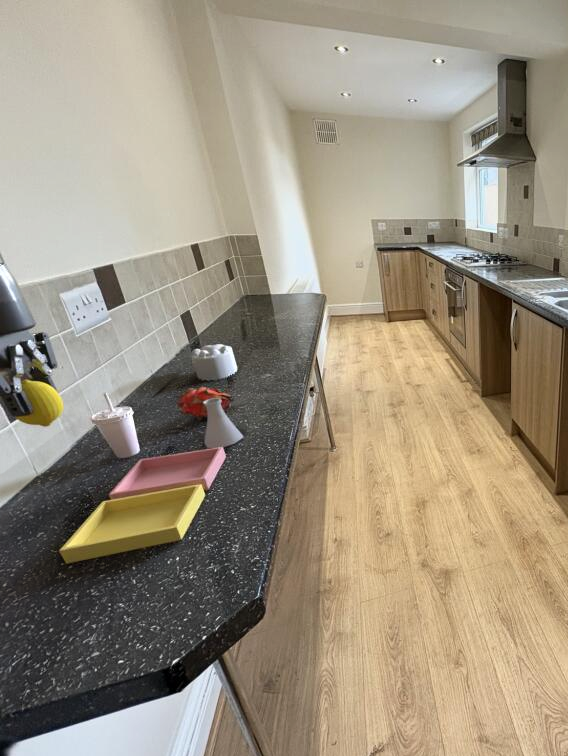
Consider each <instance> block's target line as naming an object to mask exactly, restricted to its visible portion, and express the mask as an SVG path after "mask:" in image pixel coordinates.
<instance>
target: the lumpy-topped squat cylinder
mask: <svg viewBox="0 0 568 756" xmlns="http://www.w3.org/2000/svg"><path fill="white" fill-rule="evenodd" d="M190 357H191V361H192V364H193V367H194V370H195V372H196V373H195V374H196V376H197V379H198V378H199V379H198V380H200V379H201V380H200V381H204V380H207V381H206V382H211V381H210V380H214V381H218V379H219V380H223V379H226V378H229V377H231V376H232V374H233V375H235V374H236V373H237V371H238V365H237V362H236V358H235V355H234V352H233V348H232V346H230V345H225V344H222V343H219V344H218V343H217V344H209V345H203V346H202V347H201V348H194V349H193V350H192V351H191V356H190ZM235 372H236V373H235ZM230 375H231V376H230ZM228 376H229V377H228ZM225 377H226V378H225ZM222 378H223V379H222Z"/></svg>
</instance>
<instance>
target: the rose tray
mask: <svg viewBox="0 0 568 756" xmlns="http://www.w3.org/2000/svg"><path fill="white" fill-rule="evenodd" d="M226 458H227V456H226V452H225V449H224V447H218V448H206V449H205V448H204V449H198V450H193V451H187V452H179V453H173V454H166V455H161V456H154V457H145V458H142V459H138V461H137V462H136V463H135V464H134V465H133V467H132V468H130V469H129V470H128V472H127V473H126V474H125V476H124V477H123V478H122V479H121V480H120V481H119V482H118V483H117V484H116V486H114V488H113V489H112V490H111V491H110V492H109V493H108V497H109V500H113V499H119V498H124V497H130V496H136V495H142V494H147V493H153V492H159V491H164V490H170V489H176V488H181V487H187V486H193V485H199V484H202V487H203V490H204V491H207V490H209V489H210V488H211V486H212V484H213V482H214V481H215V478H216V477H217V475H218V472H219V471H220V468H221V467H222V465H223V464H224V462H225V460H226Z"/></svg>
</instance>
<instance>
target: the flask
mask: <svg viewBox="0 0 568 756" xmlns="http://www.w3.org/2000/svg"><path fill="white" fill-rule="evenodd" d="M221 402H222V401H221V399H220V398H212V399H208V400H206V401H204V402H203V404H204V405H205V406H206V408H207V414H208V417H207V421H206V430H205V435H204V436H205V437H204V445H205V446H206V447H207V448H206V449H211V448H218V447H223V448H225V447H229V446H231V445H235V444H236V443H238V442H239V441H240V440H242V439H244V435H243V434H242V433H241V432H240V430H239V429H238V428H237V427H236V425H235V424H234V423H233V422H232V421H231V419H230V418H229V417H228V416H227V414H226V412H225V410H223V409H222V406H221Z"/></svg>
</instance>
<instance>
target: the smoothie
mask: <svg viewBox="0 0 568 756" xmlns="http://www.w3.org/2000/svg"><path fill="white" fill-rule="evenodd" d="M102 394H103V397H104V399H105V401H106V404H107V406H108V408H107V409H103V410H100V411H98V412H95V413H94V414H92V415H91V417H90V421H91V423H92V424H93V425H95V426H96V427H97V430H99V432H100V434H101V436H103V438H104V440H105V441H106V443H107V444H108V446H110V449H111V450H112V452H113V453H114V455H115V456H116V458H117V459H127V458H131V457H133V456H135V455H138V453H140V451H141V449H140V445H139V440H138V435H137V430H136V426H135V422H134V417H133V415H134V411H133V408H132V407H130V406H116V407H113V404H112V402H111V399H110V397H109V394H108V392H107V391H104V392H102Z"/></svg>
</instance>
